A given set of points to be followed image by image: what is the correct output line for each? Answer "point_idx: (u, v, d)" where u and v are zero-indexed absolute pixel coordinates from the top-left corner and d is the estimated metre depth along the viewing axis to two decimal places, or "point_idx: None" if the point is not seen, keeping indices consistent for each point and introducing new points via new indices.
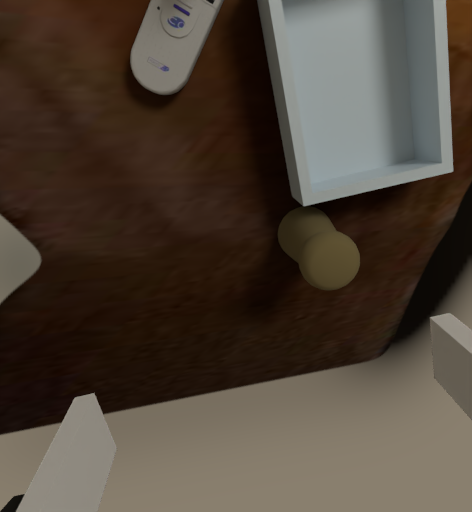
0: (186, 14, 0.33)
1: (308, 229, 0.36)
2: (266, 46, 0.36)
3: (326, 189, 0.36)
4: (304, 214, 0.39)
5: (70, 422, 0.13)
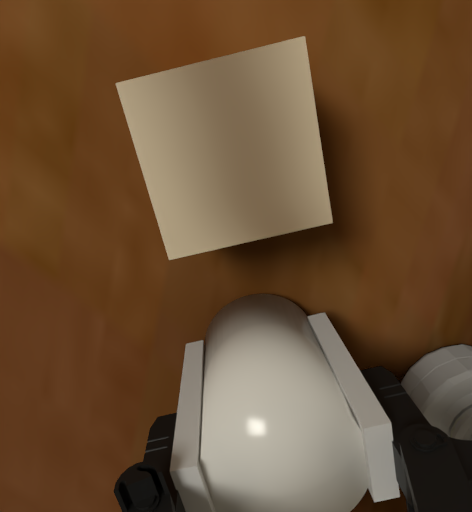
0: None
1: None
2: None
3: None
4: None
5: (191, 360, 0.15)
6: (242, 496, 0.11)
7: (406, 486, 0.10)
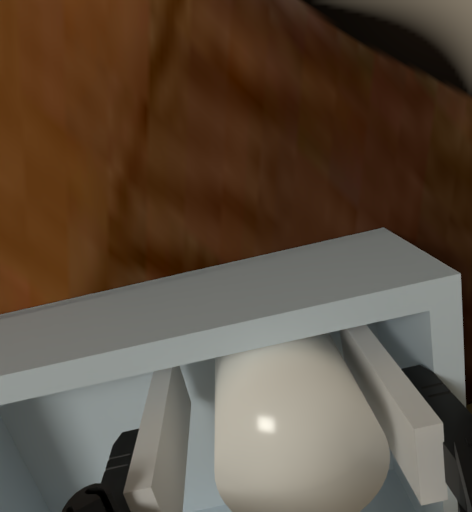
0: None
1: None
2: None
3: None
4: None
5: (160, 372, 0.15)
6: (258, 490, 0.11)
7: (458, 486, 0.10)
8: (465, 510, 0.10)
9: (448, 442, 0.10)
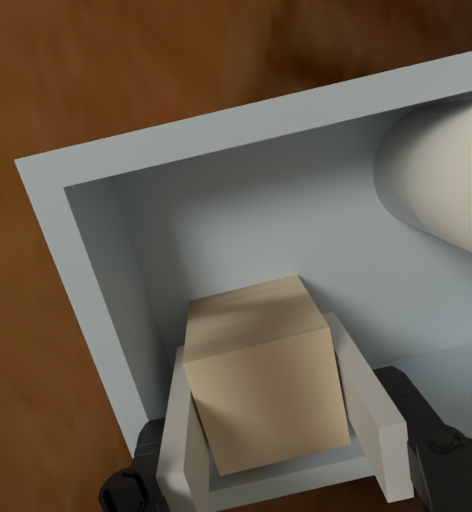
0: None
1: None
2: None
3: None
4: None
5: None
6: None
7: (421, 486, 0.10)
8: (428, 509, 0.10)
9: (412, 441, 0.10)
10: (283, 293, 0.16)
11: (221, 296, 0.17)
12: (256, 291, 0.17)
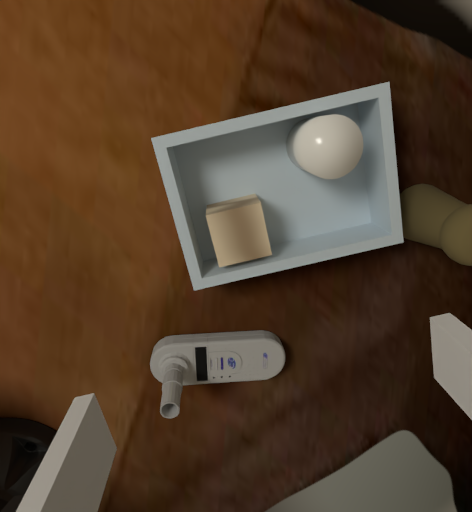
0: (222, 359, 0.43)
1: (428, 237, 0.36)
2: None
3: (389, 219, 0.36)
4: (403, 223, 0.39)
5: (70, 421, 0.13)
6: (316, 157, 0.31)
7: None
8: None
9: None
10: (247, 198, 0.37)
11: (220, 202, 0.39)
12: (236, 199, 0.38)
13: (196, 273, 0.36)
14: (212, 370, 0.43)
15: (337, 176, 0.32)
